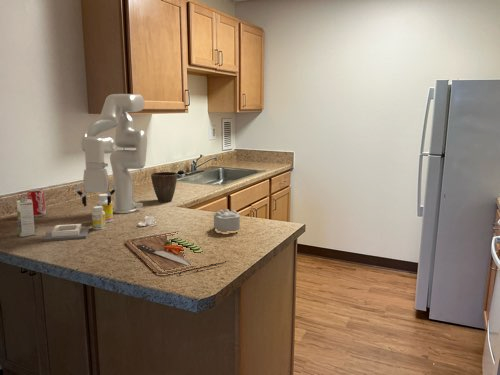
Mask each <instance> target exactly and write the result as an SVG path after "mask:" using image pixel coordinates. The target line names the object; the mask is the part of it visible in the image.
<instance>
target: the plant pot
mask: <svg viewBox="0 0 500 375" xmlns="http://www.w3.org/2000/svg"><path fill="white" fill-rule="evenodd" d="M150 179H151V182H152V187H153V190H154V193H155V196H156V198H157V200H158V202H160V203H170V202H172V200H173V198H174V195H175V190H176V187H177V182H178V181H177V180H178V173H177V172H173V171H158V172H153V173H151V174H150Z"/></svg>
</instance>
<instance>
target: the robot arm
mask: <svg viewBox="0 0 500 375" xmlns="http://www.w3.org/2000/svg"><path fill="white" fill-rule="evenodd" d="M144 107H145V99H144V97H143V96H142V95H141V94H139V93H113V94H109V95H108V96H106V98H105V101H104V104H103V106H102V109H101V113H100V116H99V117H98V118H97V119H95V120H94V121H92V122H91V123H90V124H89V125H87V127H85V130H84V131H83V134H82V138H81V141H80V144H81V145H80V146H81V149H82V151H83V152H84V157H85V158H84V160H85V168H84V170H83V181H82V183H80V184H78V185H76V186H75V187H74V190H75V192H76V193H77V194H78V195H79V196H80V197H81V201H82V205H83V207H86V206H87V203H88V202H87V196H86V195H87V194H88V193H89V194H95V193H96V194H97V193H99V194H102V193H104V194H107V195H108V196H107V202H108V205H110V203H111V201H112V196H113V199H114V200H113V201H114V207H112V209H113V213H115V214H128V213H134V212H136V211H137V210H138V207H139V208H141V207H144V206H143V205H144V204H143V202H135V200H134V185H133V184H134V183H133V182H134V181H133V180H134V179H133V175H132V173H131V172H130V170H140V169H141V170H142V169H143V168H144V167H145V166H146V160H147V148H148V137H147V133H146V132H145V131H144V130H142V129H134V119H133V117H132V116H131V115H130V114H129V113H137V112H141V111H143V109H144ZM114 128H115V134H114V138H112V137H110V136H98V135H99V134H102V133H104V132H107V131H109V130H111V129H114ZM116 147H118V148H121V149H116ZM105 154H110V155H109V160H110V166H111V170H112V171H111V172H112V182H110V181H109V176H108V175H109V174H108V171H107V170H108V169H107V167H109V164H108V163H106V162H105ZM82 187H83V188H82ZM110 187H111V188H112V190H111V191H110V190H109V188H110ZM81 188H82V189H83V191H81V190H80V189H81Z"/></svg>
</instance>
